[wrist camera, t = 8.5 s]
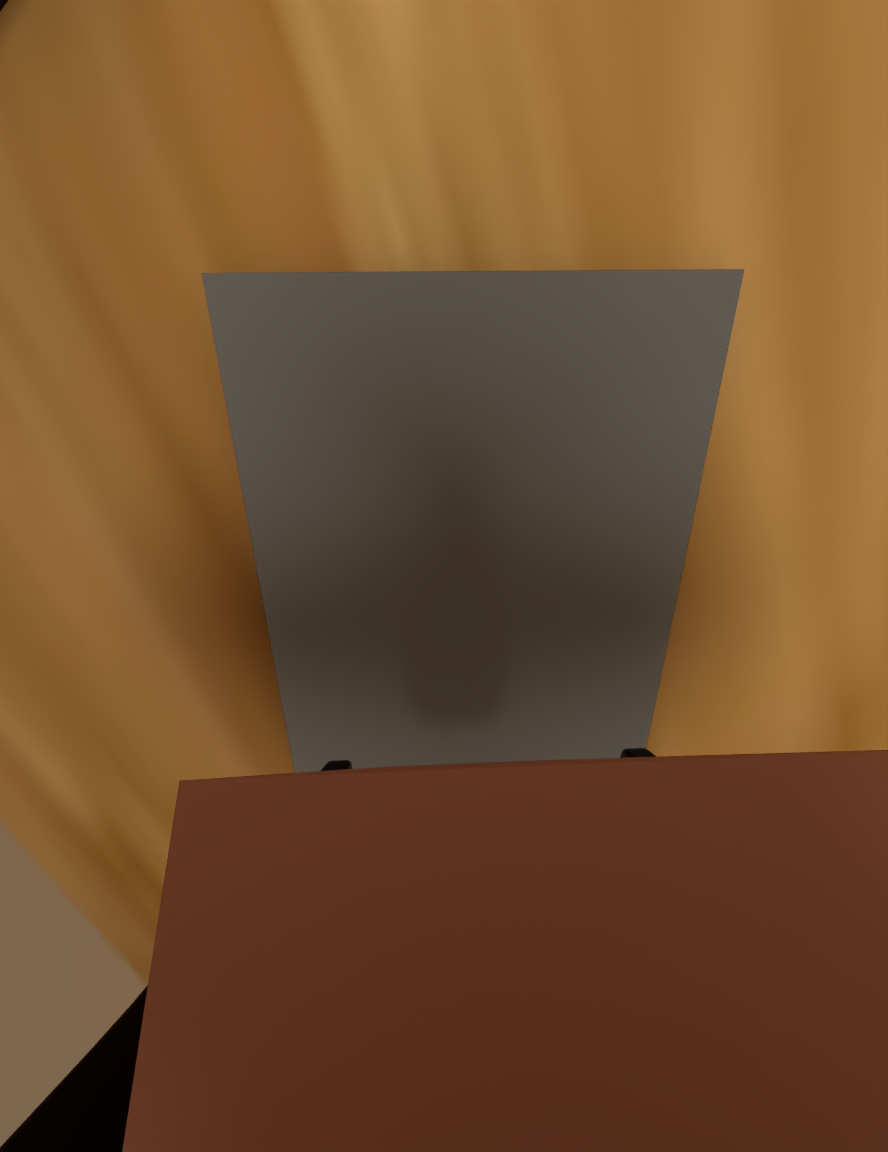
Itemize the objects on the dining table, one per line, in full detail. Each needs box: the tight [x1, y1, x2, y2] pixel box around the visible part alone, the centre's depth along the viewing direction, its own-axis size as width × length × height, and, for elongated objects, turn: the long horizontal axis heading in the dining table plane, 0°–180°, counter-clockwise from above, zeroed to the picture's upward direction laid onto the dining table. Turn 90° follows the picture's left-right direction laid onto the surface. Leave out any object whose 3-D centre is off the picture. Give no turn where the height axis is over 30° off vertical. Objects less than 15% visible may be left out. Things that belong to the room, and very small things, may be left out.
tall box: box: [122, 750, 888, 1152], centre depth 8 cm, size 3×5×12 cm
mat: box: [202, 269, 744, 773], centre depth 18 cm, size 20×16×1 cm
